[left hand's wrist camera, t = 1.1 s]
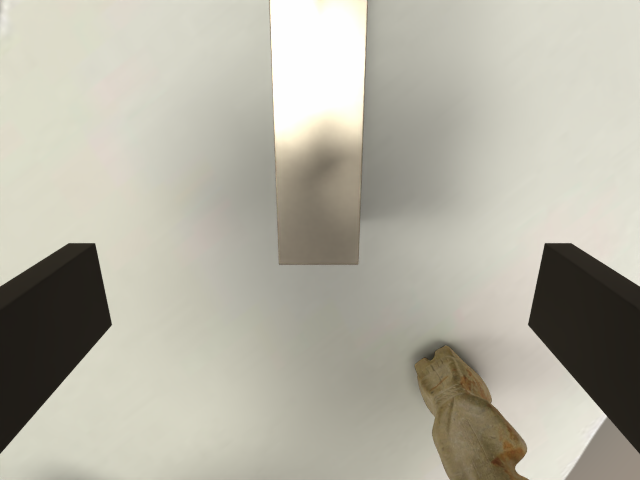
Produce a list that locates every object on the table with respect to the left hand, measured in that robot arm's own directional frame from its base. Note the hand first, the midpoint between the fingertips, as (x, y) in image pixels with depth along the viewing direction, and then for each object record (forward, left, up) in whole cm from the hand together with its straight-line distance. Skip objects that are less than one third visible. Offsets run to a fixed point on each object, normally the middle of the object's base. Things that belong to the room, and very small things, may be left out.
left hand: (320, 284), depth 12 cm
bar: (+7, +2, -20) cm, 21 cm away
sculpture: (-15, -16, -20) cm, 29 cm away
